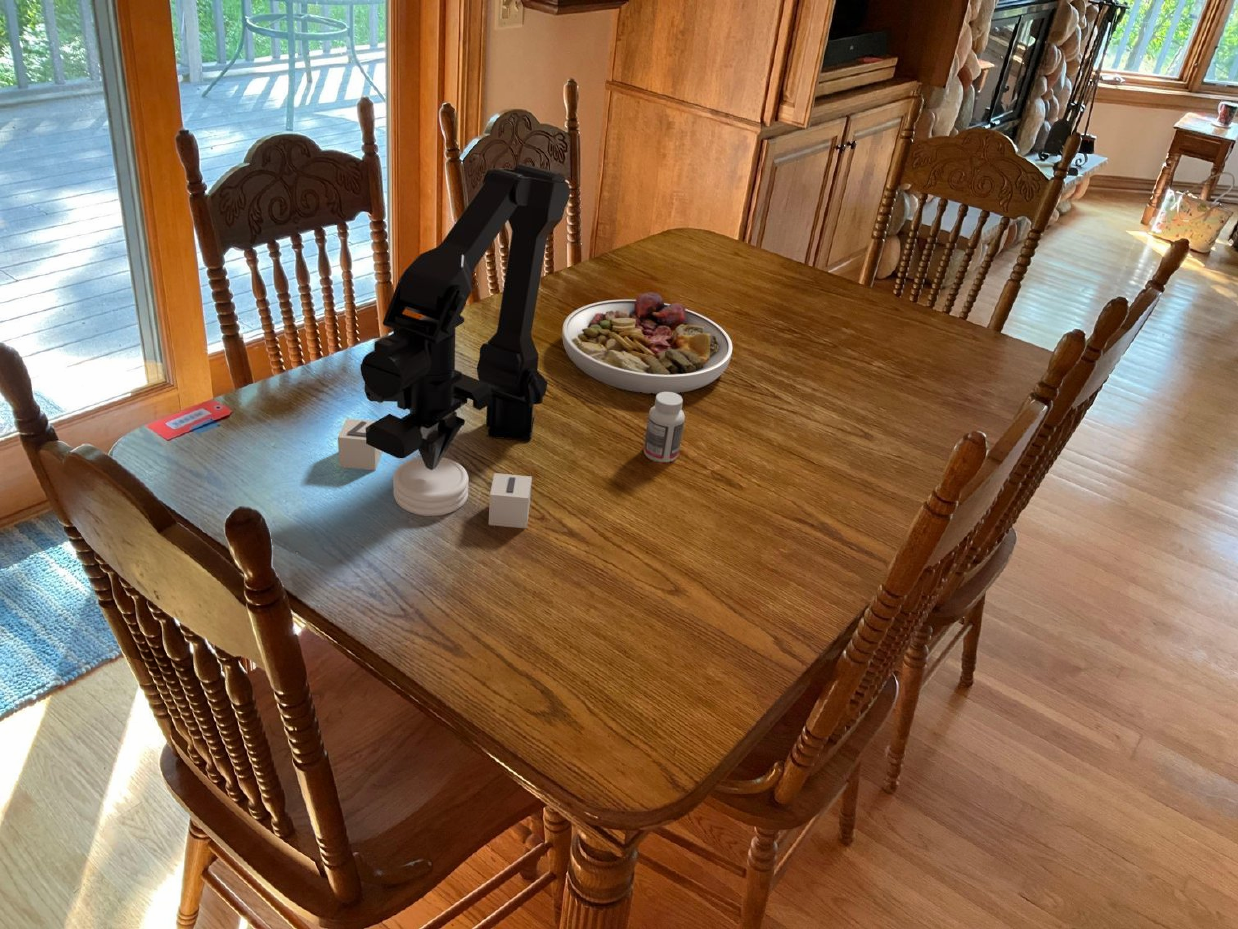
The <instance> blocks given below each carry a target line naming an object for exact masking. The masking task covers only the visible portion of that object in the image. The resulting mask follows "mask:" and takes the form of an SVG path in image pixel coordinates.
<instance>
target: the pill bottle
mask: <svg viewBox="0 0 1238 929" xmlns="http://www.w3.org/2000/svg"><path fill="white" fill-rule="evenodd" d="M654 400H655V401H654V406H652V407H651V408H650V409H649V411H648V416H647V424H646V430H645V438H644V445H643V453H644V455H645V456H646V458H648V459H649V460H651V461H653V460H654V462H656V461H658V462H657V463H662V462H666V463H670V461H671V462H673V461H675V460H677V458H678V457H679V453H680V449H681V443H682V435H683V430H684V425H685V418H686V417H685V413H684V411H683V410H682V408H683V403H684V400H683V397H682V396H681V395H680V394H679V393H673V392H661V393H659V394H656V396H655V399H654Z"/></svg>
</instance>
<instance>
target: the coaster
mask: <svg viewBox="0 0 1238 929" xmlns="http://www.w3.org/2000/svg"><path fill="white" fill-rule="evenodd" d="M392 478H393V480H392V481H393V496H394V497H393V498H394V500H395V501H396V503H397V505H398V506H399V507H400V508H401V509H403V510H405V511H407V512H408V513H411V514H415V515H418V516H425V517H431V516H432V517H437V516H444V515H447V514H451V513H453V512H456V511H457V510H459V509H460V508H461V507H462V506H463V505H464V504H465V503H466V502H467V500H468V497H469V478H470V477H469V474H468V472H467V470H466V469H465V468H464V467H463V466H462V465H461V464H460V463H458V462H457V461H454V459H453V460H452V459H450V458H447V457H444V456H443V457H442V458H441V460H440V462H439V463H438V465H437V467H436V468H435V469H433V470H430V469H428V468H426V466H425V464H424V461H423V459H422V457H421V456H420V457H416V458H412V459H409V460H407V461H405V462H403V463H402V464H401V465H399V466H398V467H397V469H395V472H394V473H393V477H392Z"/></svg>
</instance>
